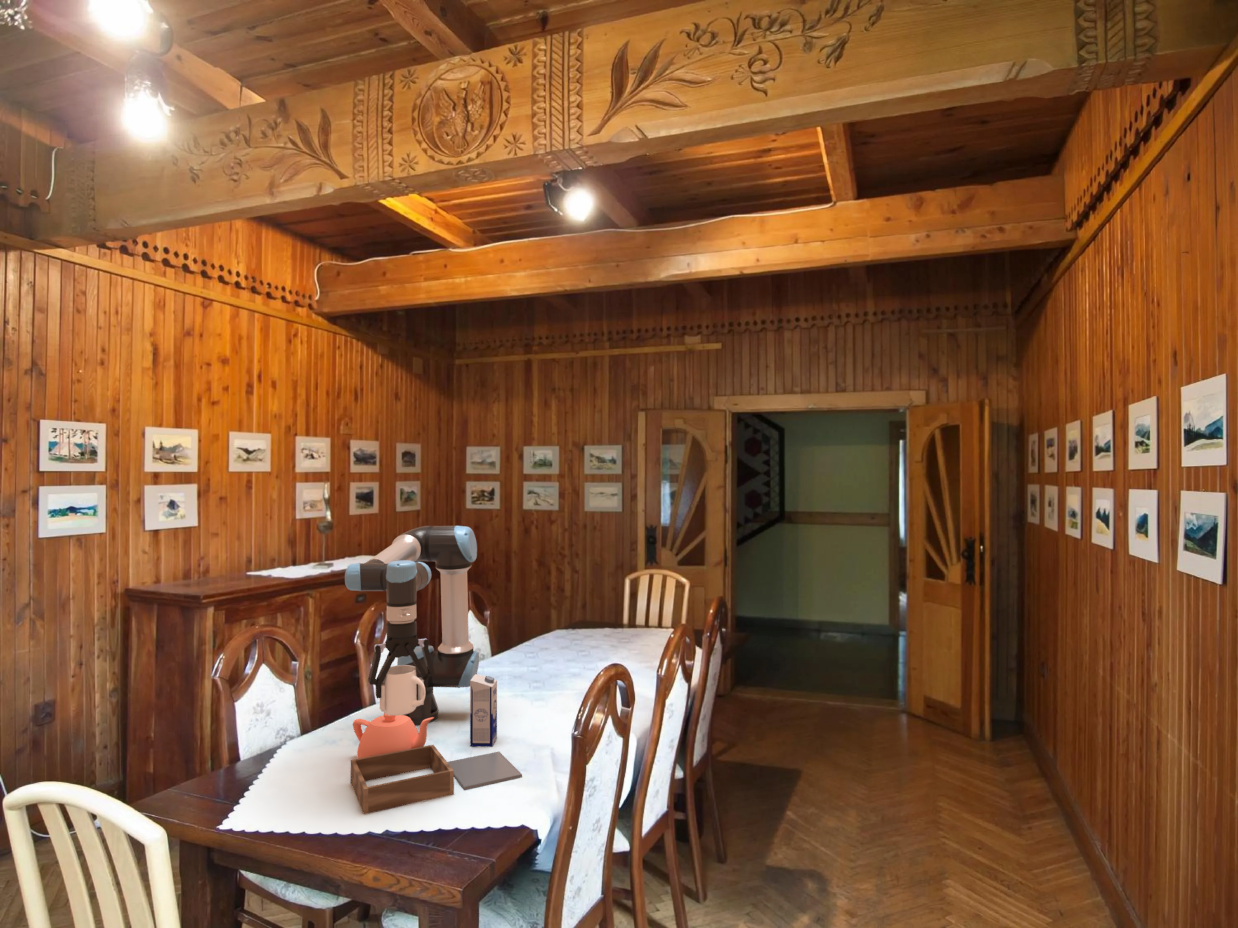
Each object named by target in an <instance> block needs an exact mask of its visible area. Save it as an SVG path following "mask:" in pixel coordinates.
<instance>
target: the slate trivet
mask: <svg viewBox="0 0 1238 928" xmlns="http://www.w3.org/2000/svg"><path fill="white" fill-rule="evenodd" d="M447 763H448V764H449V765H450V766H451V768H452V769H453V770H454V780H456V782H457V783H458V785H460V787H461V788H462V789H463V791H465V790H470V789H471V790H472V789H475V788H479V787H484V786H488V785H492V784H493V785H494V784H497V783H498V784H499V783H501V782H503V783H504V782H507V781H511V780H516V779H520V778H523V774H522V773H521V772H520V771H519V770H518V768H516V767H515V766H514V764H512V762H510V761H509V759H507V757H505V756H504V755H503V753H502V752H501V751H494V752H490V753H489V752H488V753H485V754H480V755H475V756H470V757H464V758H461V759H455V760H449V761H447Z"/></svg>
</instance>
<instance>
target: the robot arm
mask: <svg viewBox="0 0 1238 928" xmlns="http://www.w3.org/2000/svg"><path fill="white" fill-rule="evenodd" d="M477 557H478V543H477V539H476V535H475V532H474V530H473V529H472V528H471V527H469V526H465V525H464V526H463V525H423V526H420V527H418V526H417V527H415V528H413V529H410V530H408V531H405V532H404V533H401V534H400V535H398V536H397V537H395V538H394V540H392V543H391V545H389V546H388V547H386V548H385V549H383V550H382V551H380V552H379V553H377V554H376V555H375V556H373V557H372V558H371V559H369V560H367V561H366V562H363V563H361V562H357V563H350V564H349V565H347V568H346V570H345V572H344V584H345V586H346V588H347V590H349V591H351V592H352V591H355V592H357V591H358V592H386V621H388V622H387V623H386V640H385V642H383V643H380V644H378V643H375V644H373V651H374V653H373V658H372V662H371V666H370V671H369V674H368V679H367V682H368V683H369V684H370V685H372V686H373V685H374V686H375V697H376V698H377V699H379V710H380V711H381V712H383V711H385V685H384V684H383V681H384V679H385V677H386V675H387V673H388V671H389V669H390V667H392V664H393V662H394V661H395V660H396V659H397V664H396V666H398V665H410V666H414V667H416V676H417V677H418V678H419V679H420V680H421V681H422V682H423V684H424V686H425V691H426V693H425V699H424V702H423V703H422V704H421V705H420V706H417V707H416V709H415V710H414V711H413V712H411V713H408V714H404V716H408V717H409V718H410V719H411V720H412V721H413V723H414V725H415V726H418V725H421V723H422V721H423V720H425V719H427V718H432V717H434V718H433V719H432V720H431V721H430V722H429V723H431V722H434V721H435V720H437V718H439V715H440V714H439V707H438V704H437V700H436V697H435V695H434V688H455V689H456V688H458V689H460V688H470V680H471V679H472V678H473V676H474V675H475V674H477V675H478V671H479V665H480V653H479V652H478V651H476V650H474V644H473V643H472V642H471V641H469V602H468V599H469V598H468V597H469V595H468V593H469V592H468V591H469V590H468V571H469V569H471V568H472V565H473V564H472V563H473V562H475V561H476V559H477ZM425 562H435V569H436V570H437V571H439V573H440V596H441V597H440V600H441V604H440V605H441V606H440V607H441V633H442V635H441V636H442V637H441V640H442V641H441V643H440V644H439V646H438V647H437V650H435V648H434V646H432V645H430V641H429V639H427V638H426V637H423V638H418V636H417V633H418V631H417V630H418V629H417V624H418V623H417V621H416V619H417V617H418V616H417V614H418V613H417V602H418V601H417V593H418V591H420V590H423V589H425V587H426V586H427V585H428V584H429V583H430V581H431V579H432V571H431V568H430V567H429V565H428V564H426V563H425ZM384 649H387V651H388V653H387V655H386V658H385V661H384V663H383V664H382V666H381V669H380V670H379V672H378V669H379V665H380V662H381V661H380V660H381V657H382V653H383V652H384ZM377 673H378V675H377ZM423 696H424V691H423V689H422V687H421V686H420V685H419V684H417V700H418V701H420V700H421V699H422V698H423Z"/></svg>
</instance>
